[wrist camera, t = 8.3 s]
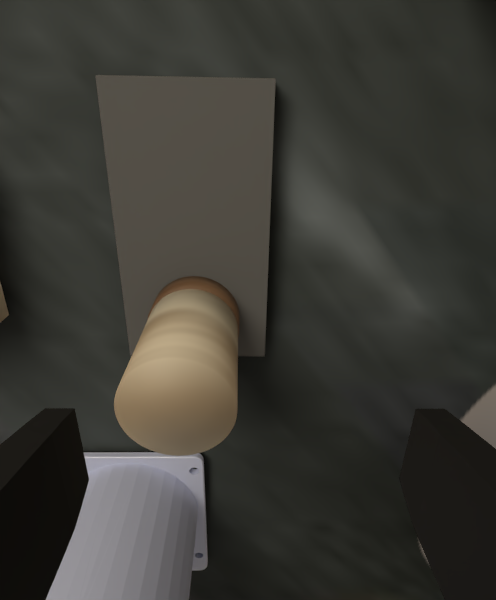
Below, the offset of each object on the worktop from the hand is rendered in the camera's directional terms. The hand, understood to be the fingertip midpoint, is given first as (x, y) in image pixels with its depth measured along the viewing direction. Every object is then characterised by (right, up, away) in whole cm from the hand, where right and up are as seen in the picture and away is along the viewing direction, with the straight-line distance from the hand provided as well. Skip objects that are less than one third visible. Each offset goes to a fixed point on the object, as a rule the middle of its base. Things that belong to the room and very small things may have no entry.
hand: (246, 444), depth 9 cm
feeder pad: (-2, +6, +8) cm, 10 cm away
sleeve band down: (-2, +2, +9) cm, 9 cm away
